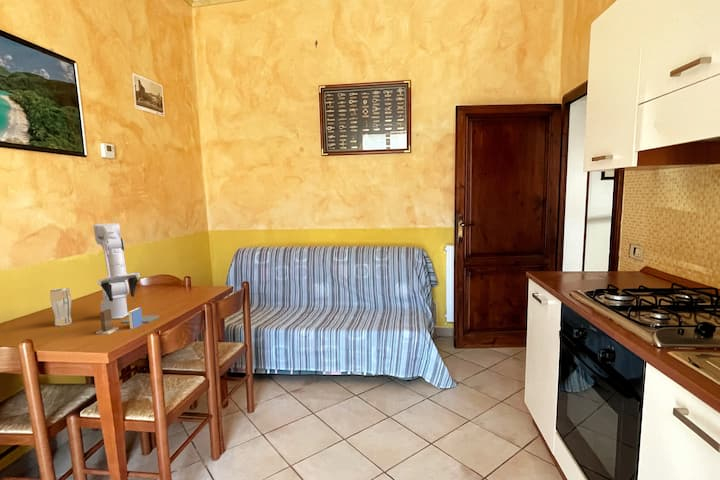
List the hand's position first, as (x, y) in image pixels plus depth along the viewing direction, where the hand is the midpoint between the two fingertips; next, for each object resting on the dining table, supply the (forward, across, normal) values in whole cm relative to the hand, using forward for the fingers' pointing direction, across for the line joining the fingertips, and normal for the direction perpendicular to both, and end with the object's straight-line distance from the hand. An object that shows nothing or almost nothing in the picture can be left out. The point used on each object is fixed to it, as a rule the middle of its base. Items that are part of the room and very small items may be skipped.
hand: (122, 298), depth 153 cm
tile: (+12, +2, +6) cm, 13 cm away
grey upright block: (+11, -8, +4) cm, 14 cm away
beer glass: (+2, -28, +22) cm, 36 cm away
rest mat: (+8, +2, +14) cm, 17 cm away
